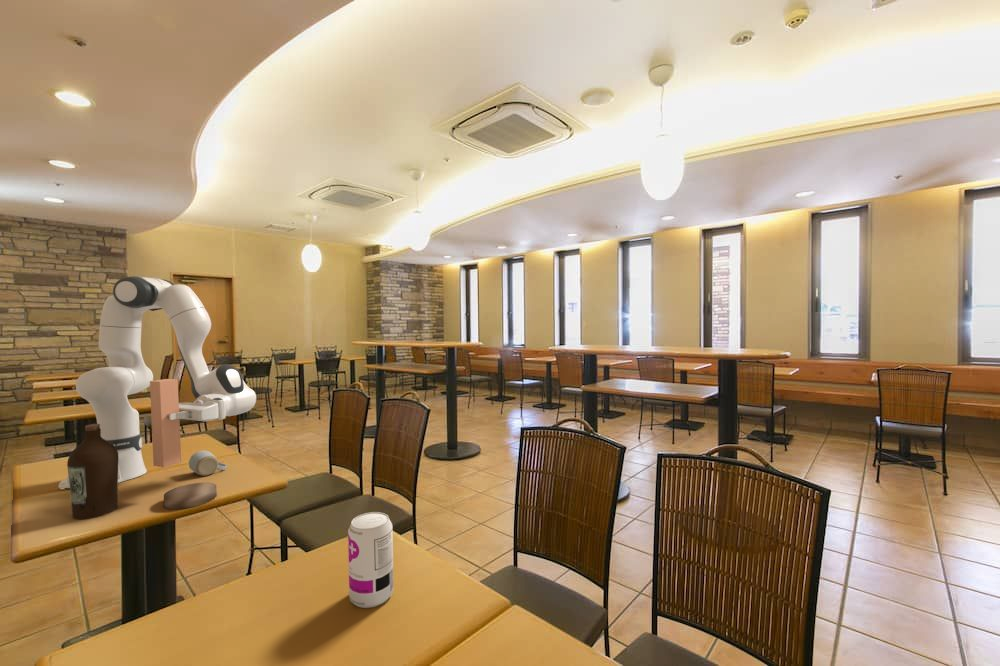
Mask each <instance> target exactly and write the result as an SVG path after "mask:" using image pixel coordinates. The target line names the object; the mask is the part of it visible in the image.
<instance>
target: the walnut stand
mask: <svg viewBox="0 0 1000 666" xmlns="http://www.w3.org/2000/svg"><path fill="white" fill-rule="evenodd" d="M217 495H218V491H217V484H216V483H214V482H206V481H205V482H194V483H189V484H185V485H181V486H177V487H174V488H172V489H169V490H167V491H166V492H165V493H164V494H163V507H164V508H165V509H167V508H169V509H168V510H184V509H190V508H194V507H199V506H202V505H205V504H207V503H209V502H211V500H212V499H213V500H214V499H216V498H217ZM215 497H216V498H215ZM213 500H212V501H213Z"/></svg>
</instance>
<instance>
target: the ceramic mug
mask: <svg viewBox="0 0 1000 666" xmlns="http://www.w3.org/2000/svg"><path fill="white" fill-rule="evenodd" d="M188 467H189V469H190V470H191V471H192V472H194V473H196V474H197V475H199V476H202V477H207V476H211V475H213V474H214V473H215V472H216V471H217V470H219V471H225V470H227V467H228V465H227V464H225V463H222V462H219V460H218V458H217V457H216V456H215V455H214V454H213V453H211V452H210V451H208V450H204V449H203V450H199V451H196V452H195V453H193V454H192V455H191V456H190V458H189V460H188ZM210 474H211V475H210Z"/></svg>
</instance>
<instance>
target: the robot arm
mask: <svg viewBox="0 0 1000 666" xmlns="http://www.w3.org/2000/svg"><path fill="white" fill-rule="evenodd" d="M148 310H149V311H151V312H154V311H159V310H163V311H164V312H165V314H166V316H167V318H168V320H169V321H170V323H171V325H172V327H173V331H174V333H175V336H176V343H177V348H178V351H179V354H180V357H181V359H182V362H183V364H184V367H185V370H186V371H187V374H188V377H189V379H190V386H191V389H190V390H191V394H192V395H193V397H194V398H195V400H194V401H193V402H186V401H184V402H179V412H178V413H171V414H168V415H167V416H168V419H169V420H174V419H179V420H181V419H182V420H189V421H190V420H191V421H198V422H200V421H201V422H203V423H204V422H205V423H206V422H209V421H210V422H211V421H216V420H217V421H220V420H225V419H226V417H232V416H233V417H234V416H237V415H241V414H244V413H247V412H249V411H250V410H252V409H253V408H254V407H255V405H256V402H257V394H256V392H255V391H254V390H253V388H250V387H249V386H248V385H247V384H246V382H245V381H244V379H243V375H242V373H241V371H240V370H239V369H238V368H237V367H236V366H234V365H231V364H221V365H219V366H218V367H216V368H214V369H213V370H211V371H210V370H209V368H208V365H207V362H206V360H205V358H204V355H203V345H204V343H205V340H206V338H207V336H208V335H209V333H210V331H211V328H212V320H211V318H210V314H209V313H208V311H207V310H206V307H205V306H204V304H203V302H202V301H201V299H200V298H199V297H198V296H197V294H196V293H195V292H194V290H193V289H192V288H191V287H190V286H188V285H186V284H180V283H179V284H177V283H176V284H175V283H174V282H172V281H169V280H167V279H161V278H158V277H157V278H156V277H152V276H147V277H145V276H144V277H143V276H135V275H134V276H133V275H132V276H131V275H130V276H125V277H122V278H120V279H118V280H117V281H115V284H113V289H112V295H110V296H108V297H107V298H105V301H104V304H103V306H102V310H101V314H100V319H99V321H100V322H99V333H98V345H97V346H98V348H99V350H100V351H101V352H102V353H104V354H105V356H106V358H107V361H108V366H104V367H97V368H94V369H91V370H88V371H87V372H83V373H82V374H81V375H80V376H78V378H77V379H76V382H75V391H76V393H77V394H78V395H79V396H80V398H82V399H84V400H86V401H87V402H88V403H89V404H90V406H91V408H92V410H93V411H94V414H95V418H96V424H100V429H101V437H102V438H103V439H104V440H106V441H108V442H109V443H111V444H112V445H114V446H115V447H116V449H117V451H118V456H119V458H118V484H119V483H121V482H125V481H128V480H129V481H130V480H132V479H134V478H139V477H140V476H142V475H144V474H146V473H147V472H148V470H147V468H146V466H145V462H144V459H143V453H142V448H143V438H142V433H141V432H140V413H139V412H138V410H137V409H136V408H134V407H132V405H131V404H130V401H129V398H128V396H129V395H134V394H138V393H140V392H142V391H144V390H146V389H147V388H150V381H154V374H153V372H152V369H151V368H150V367H148V366H147V365H146V363H145V360H144V357H143V353H142V346H141V344H142V343H141V341H142V327H143V326H142V325H143V316H144V314H145V313H146V312H147V311H148ZM57 488H58V489H59V488H70V484H69V475H67V478H65V479H63V480H62V481H60V482H59V483H58V487H57Z"/></svg>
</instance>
